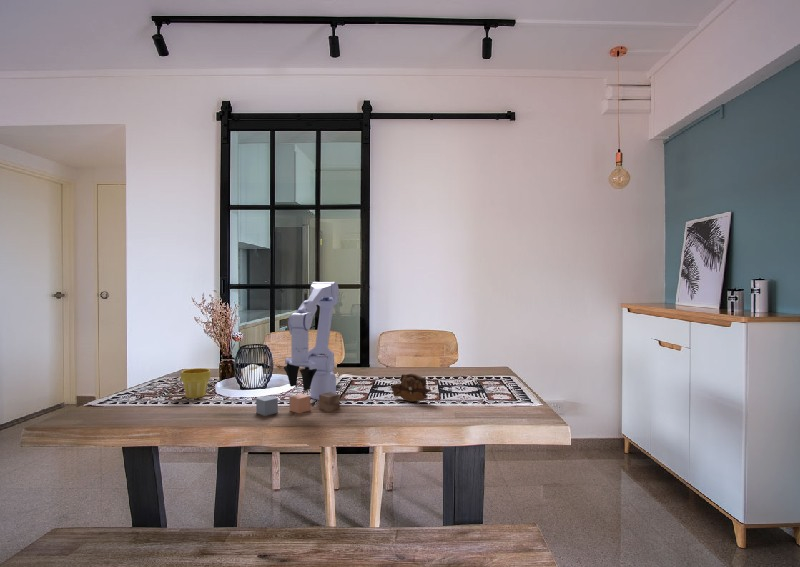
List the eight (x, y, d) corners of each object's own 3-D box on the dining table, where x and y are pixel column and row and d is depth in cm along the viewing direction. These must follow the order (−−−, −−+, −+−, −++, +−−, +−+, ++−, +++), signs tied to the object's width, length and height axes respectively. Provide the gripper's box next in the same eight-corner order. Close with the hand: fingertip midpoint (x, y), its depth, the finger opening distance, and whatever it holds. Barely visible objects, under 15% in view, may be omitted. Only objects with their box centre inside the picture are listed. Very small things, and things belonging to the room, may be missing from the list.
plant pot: (215, 393, 179) (215, 368, 179) (201, 400, 169) (201, 373, 168) (190, 392, 180) (190, 367, 180) (175, 399, 170) (175, 373, 169)
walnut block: (330, 406, 162) (330, 392, 162) (339, 408, 158) (339, 394, 158) (319, 409, 158) (319, 394, 158) (328, 411, 155) (328, 397, 154)
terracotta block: (301, 407, 160) (301, 393, 159) (310, 410, 156) (310, 395, 156) (289, 410, 156) (289, 396, 156) (298, 413, 152) (298, 398, 152)
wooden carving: (388, 399, 170) (388, 373, 169) (394, 397, 174) (394, 370, 174) (428, 405, 162) (428, 377, 162) (433, 402, 166) (433, 375, 166)
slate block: (269, 410, 157) (269, 395, 157) (277, 412, 153) (277, 398, 153) (256, 413, 153) (256, 398, 153) (264, 416, 150) (264, 401, 150)
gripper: (277, 347, 157) (277, 386, 158) (303, 351, 148) (303, 393, 148) (294, 344, 163) (294, 382, 163) (320, 349, 153) (320, 389, 153)
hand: (299, 387), depth 156 cm, fingers open, 7 cm apart
